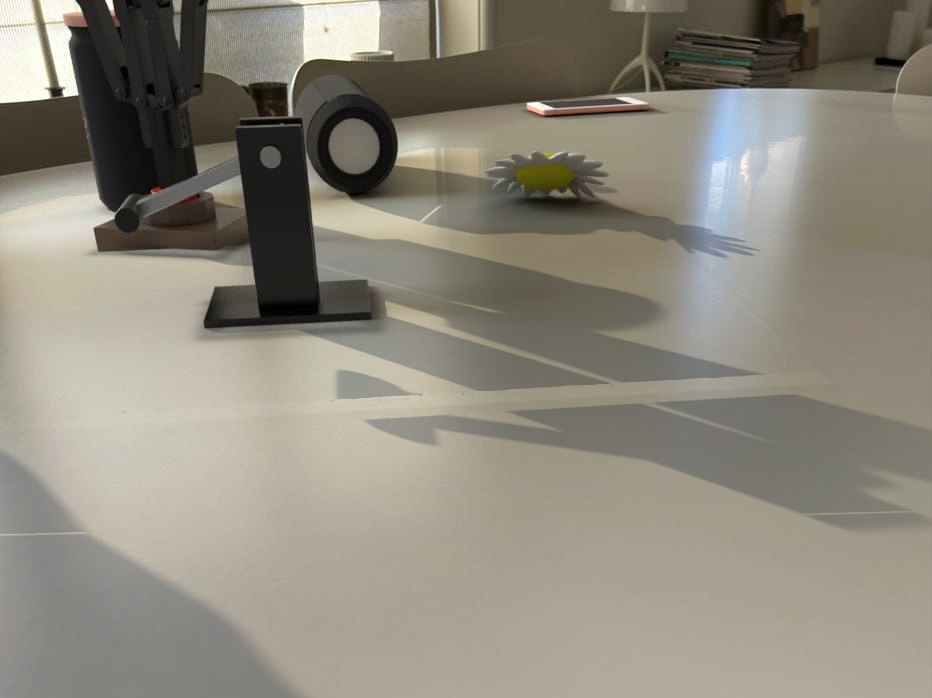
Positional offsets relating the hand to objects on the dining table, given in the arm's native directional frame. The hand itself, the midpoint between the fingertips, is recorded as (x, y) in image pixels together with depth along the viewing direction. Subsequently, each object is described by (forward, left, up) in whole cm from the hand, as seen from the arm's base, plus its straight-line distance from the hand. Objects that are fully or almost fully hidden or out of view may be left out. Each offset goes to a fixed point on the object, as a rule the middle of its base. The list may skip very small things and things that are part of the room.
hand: (174, 186), depth 98 cm
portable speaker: (+5, +33, -5) cm, 34 cm away
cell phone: (+25, +93, -5) cm, 96 cm away
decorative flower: (+29, +29, -5) cm, 41 cm away
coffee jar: (-11, +15, -5) cm, 19 cm away
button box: (0, 0, -5) cm, 5 cm away
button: (0, 0, -2) cm, 2 cm away
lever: (+15, -22, +4) cm, 26 cm away
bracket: (+19, -20, -5) cm, 28 cm away
